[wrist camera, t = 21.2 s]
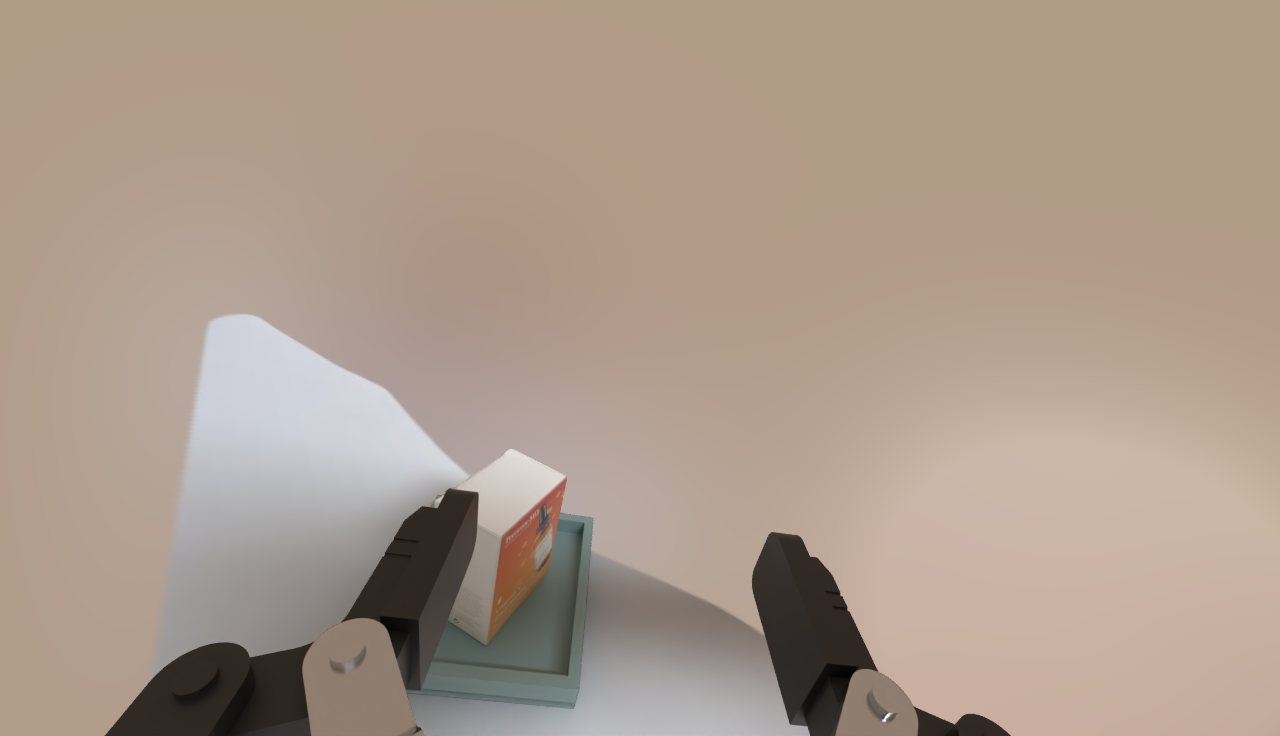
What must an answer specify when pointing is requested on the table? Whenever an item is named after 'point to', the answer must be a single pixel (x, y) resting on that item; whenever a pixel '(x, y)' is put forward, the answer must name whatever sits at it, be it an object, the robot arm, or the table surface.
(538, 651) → the tray
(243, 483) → the table surface
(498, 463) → the small box
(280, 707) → the robot arm
